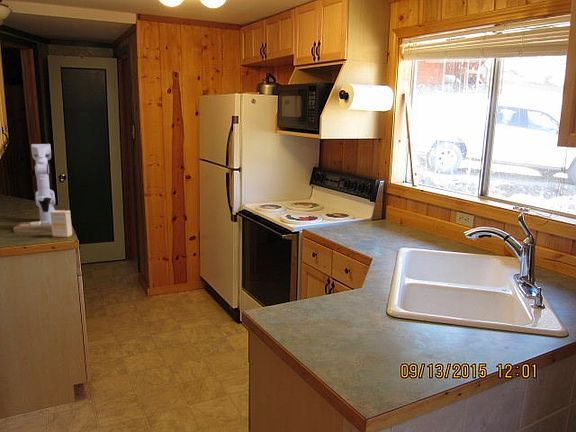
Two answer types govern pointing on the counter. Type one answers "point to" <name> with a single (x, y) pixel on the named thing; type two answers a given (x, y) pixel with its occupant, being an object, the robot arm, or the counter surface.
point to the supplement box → (61, 223)
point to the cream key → (35, 223)
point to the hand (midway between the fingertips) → (45, 211)
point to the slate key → (46, 223)
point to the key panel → (32, 228)
